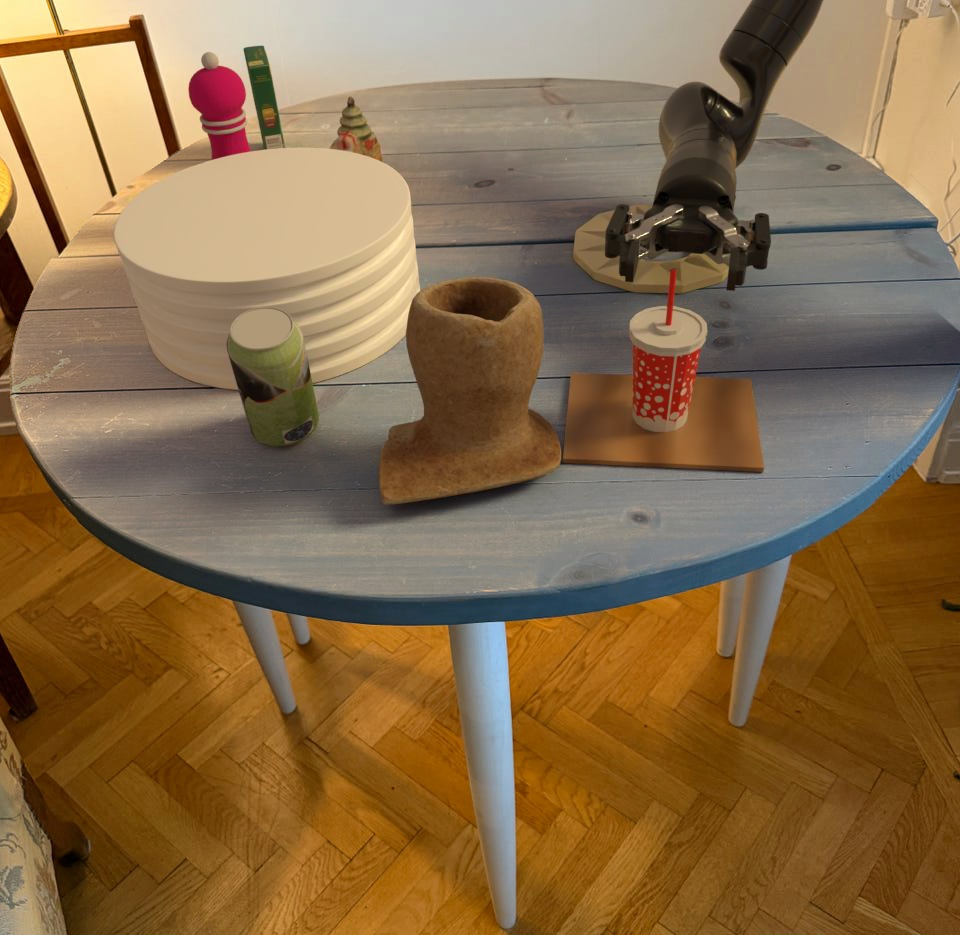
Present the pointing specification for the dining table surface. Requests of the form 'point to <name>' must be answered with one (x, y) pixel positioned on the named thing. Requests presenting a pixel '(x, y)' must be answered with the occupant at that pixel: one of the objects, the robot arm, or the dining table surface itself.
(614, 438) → the cork mat
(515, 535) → the dining table surface
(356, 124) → the ornament
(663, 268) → the tan faceted ring
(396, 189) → the plate stack
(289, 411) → the beverage can
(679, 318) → the beverage cup
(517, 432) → the stone cup
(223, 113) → the pepper mill
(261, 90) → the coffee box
